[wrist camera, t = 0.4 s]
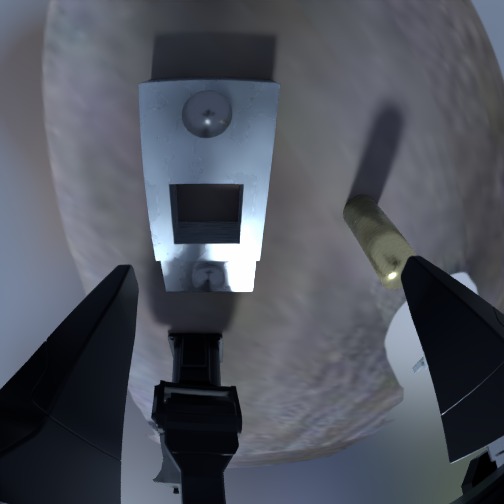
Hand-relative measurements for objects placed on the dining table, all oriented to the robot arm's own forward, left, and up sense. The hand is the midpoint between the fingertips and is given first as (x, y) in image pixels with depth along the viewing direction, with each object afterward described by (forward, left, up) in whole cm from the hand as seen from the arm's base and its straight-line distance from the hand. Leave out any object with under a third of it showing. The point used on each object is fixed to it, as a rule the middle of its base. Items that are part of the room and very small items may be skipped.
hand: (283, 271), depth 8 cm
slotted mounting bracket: (-5, +3, -14) cm, 14 cm away
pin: (-6, -10, -14) cm, 18 cm away
